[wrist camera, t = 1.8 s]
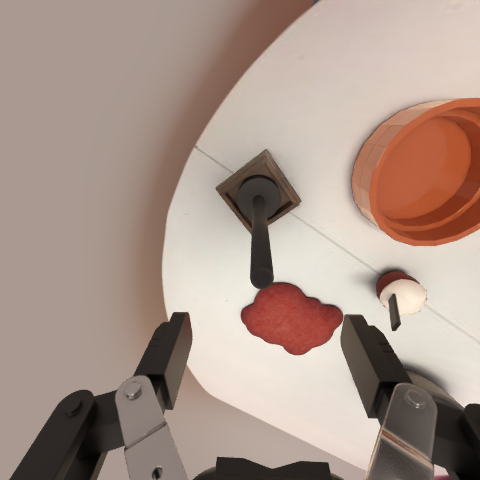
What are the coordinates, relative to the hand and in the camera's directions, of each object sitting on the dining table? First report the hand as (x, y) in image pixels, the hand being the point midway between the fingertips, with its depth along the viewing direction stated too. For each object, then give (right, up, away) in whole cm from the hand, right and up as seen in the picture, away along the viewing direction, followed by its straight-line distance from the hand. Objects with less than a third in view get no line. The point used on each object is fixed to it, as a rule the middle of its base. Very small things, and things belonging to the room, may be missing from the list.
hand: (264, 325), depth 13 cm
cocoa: (+24, -2, +29) cm, 38 cm away
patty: (+8, -10, +34) cm, 36 cm away
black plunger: (+1, +11, +23) cm, 26 cm away
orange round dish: (+23, +14, +21) cm, 34 cm away
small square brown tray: (+1, +11, +24) cm, 26 cm away
